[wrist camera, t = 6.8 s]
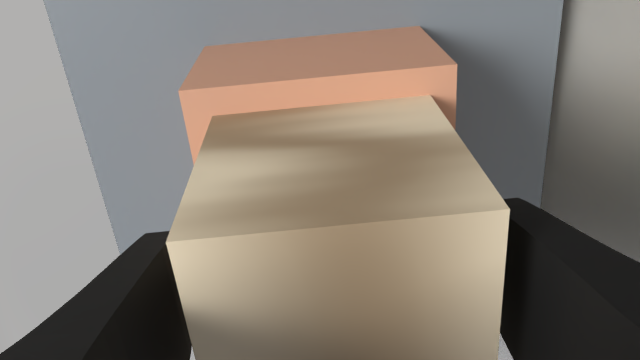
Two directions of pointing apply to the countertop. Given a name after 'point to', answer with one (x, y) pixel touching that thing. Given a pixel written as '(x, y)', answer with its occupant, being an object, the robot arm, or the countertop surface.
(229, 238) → the birch block
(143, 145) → the baseplate
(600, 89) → the countertop surface
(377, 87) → the base block
